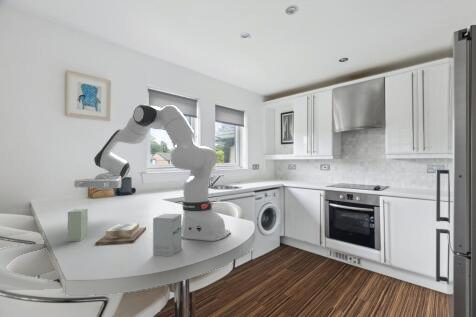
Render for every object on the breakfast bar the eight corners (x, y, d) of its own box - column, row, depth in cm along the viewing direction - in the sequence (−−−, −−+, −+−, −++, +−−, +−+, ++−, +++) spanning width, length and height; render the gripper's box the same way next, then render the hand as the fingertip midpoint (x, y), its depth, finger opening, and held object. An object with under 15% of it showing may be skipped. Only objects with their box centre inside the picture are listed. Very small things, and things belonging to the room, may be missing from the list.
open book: (146, 229, 106) (146, 220, 106) (133, 242, 88) (133, 232, 88) (114, 231, 104) (114, 222, 104) (95, 244, 86) (95, 234, 86)
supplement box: (172, 256, 74) (172, 218, 74) (152, 255, 75) (152, 217, 76) (182, 248, 81) (182, 213, 81) (163, 247, 83) (163, 213, 83)
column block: (87, 236, 96) (87, 208, 96) (81, 240, 91) (81, 211, 91) (75, 237, 95) (75, 209, 96) (67, 241, 90) (67, 211, 91)
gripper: (82, 175, 117) (66, 178, 103) (124, 175, 120) (114, 178, 107) (82, 187, 117) (66, 192, 103) (124, 187, 120) (114, 191, 107)
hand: (91, 185), depth 105 cm, fingers open, 8 cm apart
